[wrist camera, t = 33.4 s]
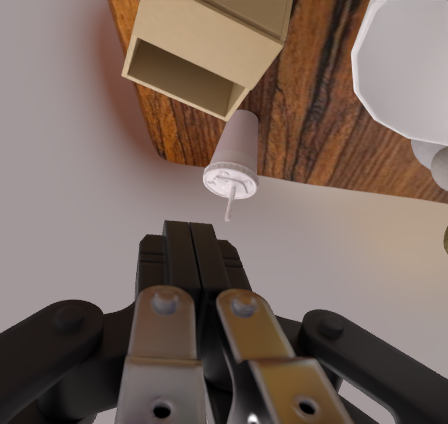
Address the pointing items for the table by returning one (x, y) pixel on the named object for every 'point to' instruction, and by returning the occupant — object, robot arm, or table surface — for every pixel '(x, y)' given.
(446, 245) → the stone tool
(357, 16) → the table surface
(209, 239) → the robot arm
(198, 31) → the flap
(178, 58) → the carton
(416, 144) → the perfume bottle
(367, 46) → the cup
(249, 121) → the smoothie
